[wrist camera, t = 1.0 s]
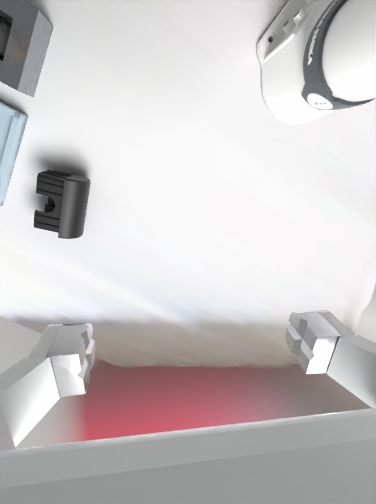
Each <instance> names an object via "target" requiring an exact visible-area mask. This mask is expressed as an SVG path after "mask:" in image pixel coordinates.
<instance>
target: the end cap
mask: <svg viewBox="0 0 376 504" xmlns="http://www.w3.org/2000/svg"><path fill="white" fill-rule="evenodd" d="M89 188H90V180H89V179H88V178H86V177H83V176H80V175H77V174H74V175H70V174H66V173H62V172H58V171H50V170H48V171H45V172H41V173H38V176H37V187H36V193H38V194H42V195H46V196H49V198H48V204H46V206H45V212H42V211H38V210H35V215H34V227H35V228H39V229H44V230H49V231H53V232H58V233H59V234H58V237H59V238H66V239H73V238H78V237H80V236H82V234H83V229H84V222H85V216H86V209H87V202H88V195H89Z"/></svg>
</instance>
